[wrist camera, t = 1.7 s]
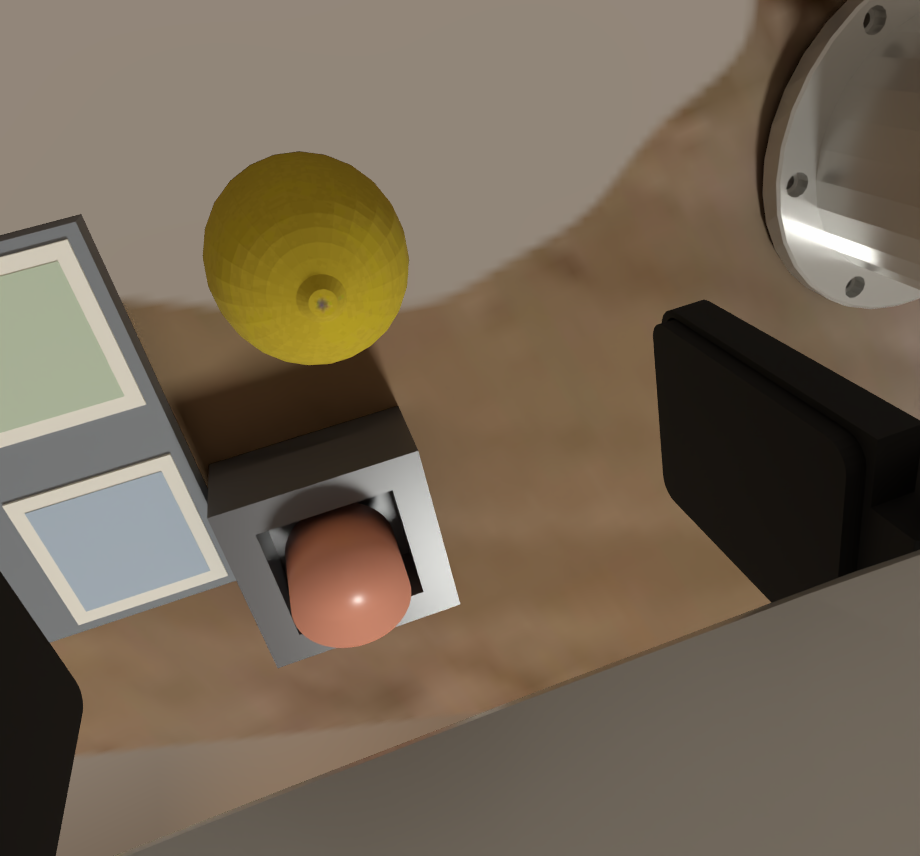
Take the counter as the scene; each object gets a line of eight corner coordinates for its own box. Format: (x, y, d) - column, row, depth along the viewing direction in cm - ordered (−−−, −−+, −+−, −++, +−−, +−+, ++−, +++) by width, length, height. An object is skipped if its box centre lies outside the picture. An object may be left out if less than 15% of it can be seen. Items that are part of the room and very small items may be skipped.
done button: (379, 487, 27) (395, 536, 24) (405, 571, 29) (423, 624, 27) (269, 523, 27) (274, 577, 24) (304, 605, 29) (311, 663, 26)
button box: (398, 405, 29) (418, 450, 26) (438, 550, 32) (460, 604, 29) (209, 464, 28) (206, 518, 25) (272, 606, 31) (277, 668, 28)
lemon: (185, 147, 23) (168, 202, 16) (368, 124, 24) (425, 166, 17) (229, 320, 25) (231, 430, 19) (391, 292, 26) (448, 387, 20)
